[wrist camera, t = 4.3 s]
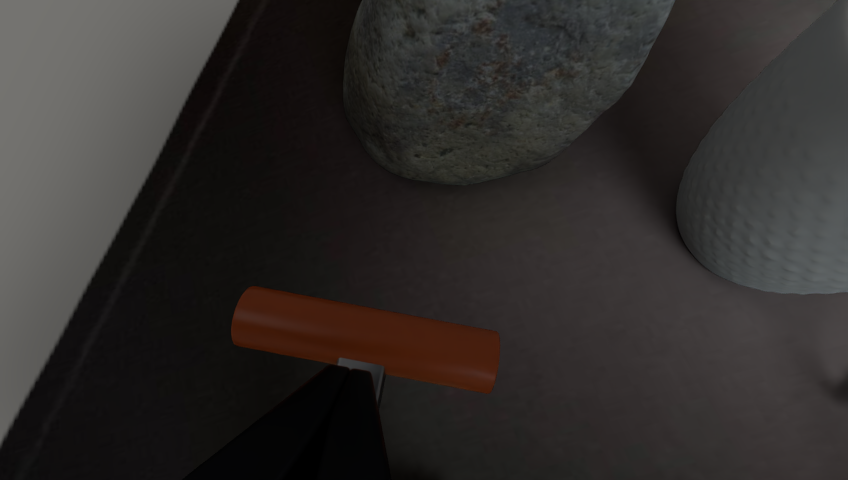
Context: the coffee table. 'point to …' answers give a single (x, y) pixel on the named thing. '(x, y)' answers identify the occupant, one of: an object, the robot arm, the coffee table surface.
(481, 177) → the stone
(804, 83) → the mug
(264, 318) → the lever
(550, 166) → the coffee table surface
